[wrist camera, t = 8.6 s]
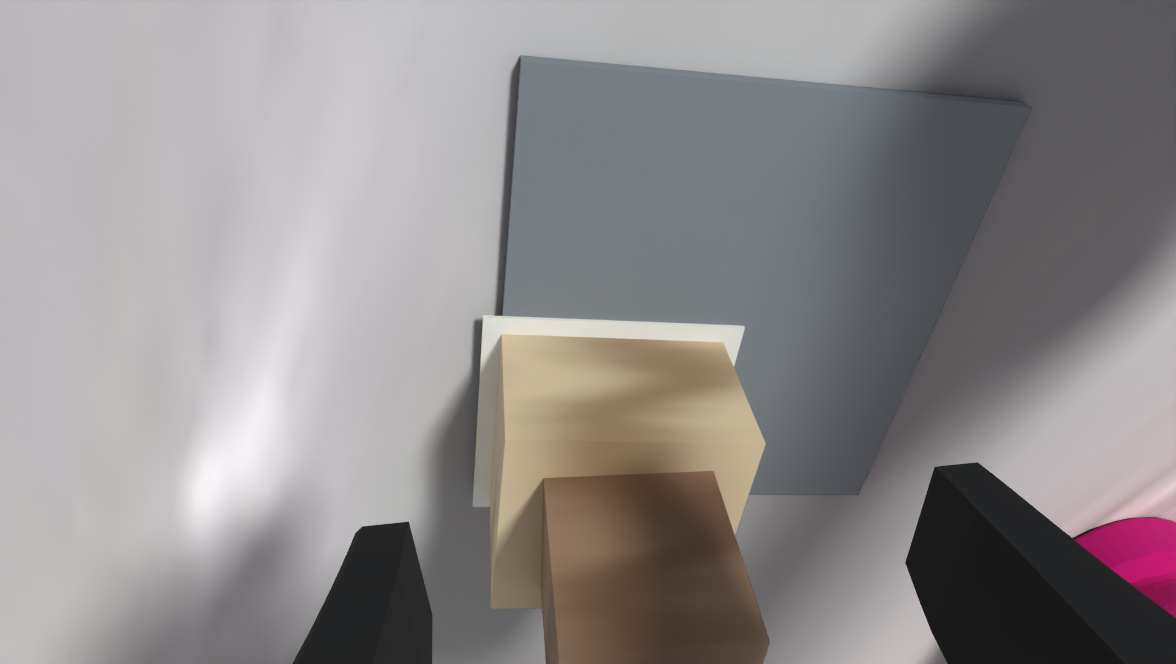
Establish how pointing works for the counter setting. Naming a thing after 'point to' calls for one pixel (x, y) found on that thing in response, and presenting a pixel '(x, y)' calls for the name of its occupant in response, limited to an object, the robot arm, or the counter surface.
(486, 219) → the counter surface
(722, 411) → the oak base
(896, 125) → the slate mat
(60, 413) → the counter surface
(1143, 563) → the pepper mill
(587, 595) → the walnut block
